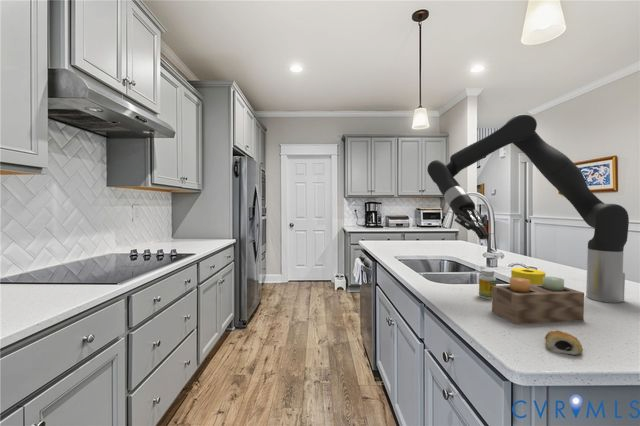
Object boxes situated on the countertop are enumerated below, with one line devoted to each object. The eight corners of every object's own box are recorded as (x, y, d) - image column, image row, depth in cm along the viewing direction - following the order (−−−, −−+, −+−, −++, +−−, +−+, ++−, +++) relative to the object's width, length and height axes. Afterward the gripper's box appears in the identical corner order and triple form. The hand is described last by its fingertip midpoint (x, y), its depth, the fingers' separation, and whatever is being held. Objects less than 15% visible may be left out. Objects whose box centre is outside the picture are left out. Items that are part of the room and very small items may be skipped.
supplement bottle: (484, 294, 115) (484, 268, 114) (499, 297, 110) (499, 270, 110) (475, 296, 112) (476, 269, 111) (490, 300, 107) (491, 272, 107)
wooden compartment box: (553, 308, 99) (553, 283, 98) (583, 320, 89) (584, 292, 89) (491, 311, 96) (492, 285, 96) (516, 324, 86) (516, 295, 86)
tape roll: (522, 292, 117) (523, 267, 117) (551, 299, 108) (552, 272, 108) (504, 295, 113) (505, 269, 113) (532, 303, 104) (533, 275, 104)
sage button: (553, 286, 96) (553, 276, 96) (568, 290, 91) (568, 280, 91) (538, 286, 95) (538, 276, 95) (553, 291, 90) (553, 280, 90)
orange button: (520, 287, 94) (521, 277, 94) (534, 291, 89) (534, 281, 89) (505, 287, 94) (505, 277, 93) (518, 292, 89) (518, 282, 89)
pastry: (543, 336, 79) (544, 321, 78) (578, 343, 75) (579, 327, 75) (545, 351, 71) (546, 334, 71) (584, 359, 67) (584, 342, 67)
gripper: (449, 193, 110) (475, 231, 99) (479, 193, 114) (507, 230, 103) (438, 208, 115) (462, 245, 104) (468, 208, 119) (494, 244, 108)
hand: (485, 237), depth 103 cm, fingers closed
